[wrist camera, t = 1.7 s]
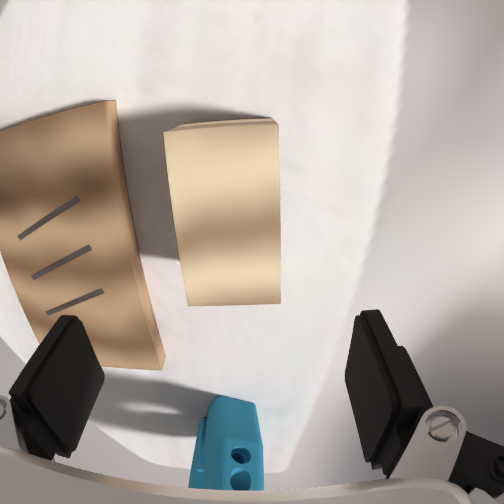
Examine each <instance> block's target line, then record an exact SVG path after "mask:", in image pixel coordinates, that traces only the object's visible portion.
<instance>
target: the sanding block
mask: <svg viewBox="0 0 504 504" xmlns="http://www.w3.org/2000/svg"><path fill="white" fill-rule="evenodd" d="M163 134H164V144H165V154H166V163H167V172H168V180H169V188H170V196H171V204H172V211H173V218H174V225H175V232H176V239H177V245H178V252H179V258H180V264H181V270H182V276H183V282H184V287H185V293H186V298H187V304H188V306H224V305H258V304H281V231H280V165H279V126H278V124H277V122H276V121H275V120H274V119H273V118H250V119H231V120H216V121H203V122H192V123H184V124H182V125H180V126H177V127H175V128H172V129H170V130H168V131H165V132H163Z"/></svg>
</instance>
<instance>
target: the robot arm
mask: <svg viewBox="0 0 504 504" xmlns="http://www.w3.org/2000/svg"><path fill="white" fill-rule="evenodd" d="M103 382H104V372H103V370H102V368H101V365H100V363H99V361H98V359H97V356H96V354H95V352H94V349H93V347H92V345H91V342H90V340H89V337H88V335H87V332H86V330H85V327H84V325H83V323H82V321H81V320H79V318H78V317H77V316H75V315H61V316H60V317H59V318H58V320H57V321H56V322H55V324H54V325H53V327H52V328H51V329H50V331H49V332H48V334H47V335H46V336H45V338H44V339H43V341H42V342H41V343H40V345H39V346H38V348H37V349H36V351H35V352H34V354H33V355H32V357H31V358H30V360H29V361H28V363H27V364H26V366H25V367H24V369H23V370H22V372H21V373H20V375H19V377H18V378H17V380H16V381H15V383H14V384H13V386H12V387H11V389H10V391H9V394H10V395H11V399H10V400H9V399H8V398H7V397H5V396H2V395H0V504H504V446H501V445H499V444H496V443H494V442H491V441H488V440H486V439H484V438H482V437H479V436H476V435H474V434H472V433H469V432H467V431H466V423H465V420H464V418H463V417H462V415H461V414H460V413H459V412H458V411H457V410H455V409H453V408H451V407H447V406H436V407H433V405H432V403H431V401H430V398H429V396H428V394H427V392H426V390H425V388H424V385H423V383H422V381H421V379H420V377H419V375H418V373H417V371H416V369H415V367H414V365H413V363H412V361H411V359H410V357H409V355H408V353H407V351H406V349H405V348H404V347H403V346H397V343H396V341H395V340H394V337H393V335H392V333H391V331H390V330H389V327H388V325H387V324H386V322H385V320H384V318H383V316H382V314H381V312H380V310H378V309H376V310H364V311H361V313H360V315H358V316H356V317H355V321H354V327H353V333H352V339H351V344H350V349H349V355H348V360H347V365H346V370H345V383H346V387H347V390H348V394H349V398H350V402H351V406H352V409H353V413H354V417H355V421H356V425H357V429H358V433H359V437H360V442H361V446H362V450H363V454H364V458H365V461H366V462H371V466H372V470H374V469H380V468H382V470H383V474H384V475H386V477H385V479H381V480H373V481H366V482H358V483H350V484H342V485H334V486H325V487H315V488H302V489H287V490H261V491H236V490H210V489H195V488H184V487H174V486H165V485H158V484H150V483H144V482H138V481H132V480H127V479H121V478H116V477H111V476H107V475H102V474H98V473H93V472H89V471H85V470H81V469H77V468H74V467H70V466H67V465H63V464H60V463H56V462H55V459H54V455H55V453H56V454H57V455H59V456H62V457H66V458H70V456H71V453H72V452H73V451H75V450H76V448H77V445H78V443H79V440H80V437H81V435H82V432H83V430H84V427H85V425H86V422H87V420H88V418H89V415H90V413H91V410H92V408H93V406H94V403H95V401H96V399H97V396H98V394H99V392H100V389H101V387H102V385H103Z"/></svg>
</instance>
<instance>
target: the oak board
mask: <svg viewBox="0 0 504 504" xmlns="http://www.w3.org/2000/svg"><path fill="white" fill-rule="evenodd" d="M0 251H1V254H2V257H3V260H4V263H5V266H6V268H7V271H8V274H9V276H10V279H11V282H12V284H13V287H14V289H15V292H16V294H17V296H18V299H19V301H20V303H21V306H22V308H23V310H24V312H25V315H26V317H27V319H28V321H29V323H30V325H31V327H32V329H33V331H34V334H35V336H36V338H37V340H38V341H39V343H41V342H42V341H43V339H44V338H45V336H46V335H47V334H48V332H49V331H50V329H51V328H52V327H53V325H54V324H55V322H56V321H57V320H58V318H59V317H60V316H61V315H75V316H77V317H78V318H79V320H81V321H82V323H83V325H84V327H85V330H86V332H87V335H88V337H89V340H90V342H91V345H92V347H93V349H94V352H95V354H96V356H97V359H98V361H99V363H100V365H101V366H104V367H115V368H128V369H143V370H162V368H163V365H164V361H165V357H166V355H165V352H164V349H163V345H162V342H161V338H160V335H159V331H158V328H157V324H156V320H155V317H154V313H153V309H152V305H151V301H150V297H149V293H148V289H147V285H146V281H145V277H144V272H143V268H142V264H141V259H140V255H139V250H138V245H137V240H136V235H135V230H134V225H133V220H132V215H131V209H130V204H129V198H128V192H127V186H126V180H125V173H124V166H123V159H122V152H121V144H120V136H119V128H118V118H117V108H116V100H112V101H103V102H99V103H94V104H90V105H86V106H82V107H78V108H74V109H70V110H66V111H63V112H59V113H56V114H52V115H49V116H45V117H42V118H39V119H36V120H32V121H29V122H26V123H23V124H20V125H17V126H15V127H12V128H9V129H6V130H3V131H1V132H0Z"/></svg>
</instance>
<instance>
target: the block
mask: <svg viewBox="0 0 504 504" xmlns="http://www.w3.org/2000/svg"><path fill="white" fill-rule="evenodd" d="M189 488H195V489H210V490H236V491H261V490H264V469H263V444H262V439H261V433H260V428H259V422H258V416H257V411H256V406H255V404H253V403H251V402H247V401H242V400H238V399H234V398H230V397H226V396H218V397H216V398H214V400H213V402H212V403H211V405H210V407H209V409H208V418H203V419H202V421H201V423H200V424H199V428H198V434H197V439H196V444H195V450H194V455H193V461H192V466H191V472H190V479H189Z"/></svg>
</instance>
